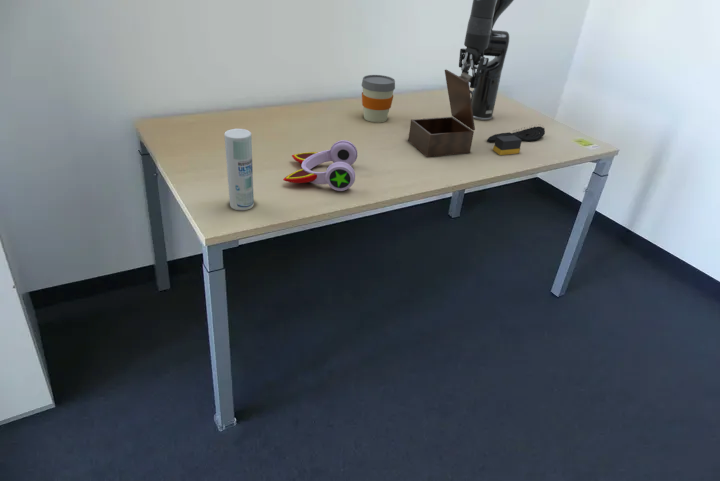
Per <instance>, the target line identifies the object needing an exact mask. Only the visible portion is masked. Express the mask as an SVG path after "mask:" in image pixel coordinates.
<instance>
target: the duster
mask: <svg viewBox="0 0 720 481" xmlns="http://www.w3.org/2000/svg"><path fill="white" fill-rule="evenodd" d="M521 145H522V140H521V139H520V138H518V137H516V136H515V135H510V136H499V137H496V140H495V142H494V145H493V148H492V151H493V152H494V153H496V154H498V155H499V156H505V155H506V156H508V155H517V154H520V152H521Z"/></svg>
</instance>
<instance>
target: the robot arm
mask: <svg viewBox="0 0 720 481" xmlns="http://www.w3.org/2000/svg"><path fill="white" fill-rule="evenodd" d="M514 1H515V0H472V5H471V9H470V15H469V19H468V21H467V25H466V26H467V27H466V32H465V37H464V44H463V45H464V47H466V48H464V47H463V48H460V50H459V58H458V60H459V61H458V68H460V71H461V74H462V73H463V72H465V73H467V74H469V75H470V70H471V71H472V72H471V76H472V78H471V83H470V82H469V88H470V94H471V95H470V96H471V103H472V111H473V118H474V119H475V120H478V121H490V120H492V119H493V117H494V116H493V114H494V111H495V105H496V102H497V96H498V91H499V86H500V82H501V78H502V73H503V69H504V66H505V65H504V64H505V62H506V61H505V60H506V56H507V52H508V49H509V45H510V33H509V32H508V31H506V30H495V29H493V28H494V27H495V25H496V22H497V20H499V18H500V16H501V15H503V13H504V12H505V11H506V10H507V9H508V8H509V7H510V6H511V4H512V3H513V2H514ZM489 57H493V58H492V59H491V60H490V59H489ZM464 80H465V79H464ZM471 89H473V90H471Z"/></svg>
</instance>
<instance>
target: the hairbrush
mask: <svg viewBox="0 0 720 481" xmlns="http://www.w3.org/2000/svg"><path fill="white" fill-rule="evenodd" d="M545 133H546V130H545V127H544V126H540V124H538V126H536V125H534V126H533V127H532V126H528V128H526V126H525V127H521V128H518V129H517V130H516V129H514V130H513V132H501V133H495V134H493V135H491V136H489V137H488V138H487V139H486V142H487V143H495V140H496V137H499V136H510V135H515V136H516V137H518V138H520V139H521V140H522V141H523V142H529V143H531V142H535V141H538V140H541V138H542V137H543V136H544V135H545Z"/></svg>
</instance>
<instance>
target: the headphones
mask: <svg viewBox="0 0 720 481" xmlns="http://www.w3.org/2000/svg"><path fill="white" fill-rule="evenodd" d="M291 157H292V159H293V160H294V161H296V162H297V163H299V164H300V165H301V169H298V170H296V171H295V170H294V171H293V172H292V173H290V174H287V176H285V177H284V178H283V181H285V182H288V183H292V184H307V183H311V184H314V185H328V186H329V188H331V189H332V190H334V191H337V192H344V191H346V190H348V189H350V188H351V187H352V186H353V185H354V184H355V182H356V172H355V169H354V168H353V166H352V165H353V164H354V163H355V162H356V161H357V159H358V149H357V147H356V145H355V144H354V143H353V142H351V141H349V140H347V139H341V140H338V141H336V142H333V144H332V145H331V147H330V149H326V150H325V149H324V150H321V151H319V152H318V151H307V152H301V153H300V152H299V153H295V154H292V155H291ZM329 162H332V163H330V164H329V166H328V167H327V168H326V170H325V171H313V170H312V169H313V168H315V167H316V166H319V165H321V164H324V163H329Z"/></svg>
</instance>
